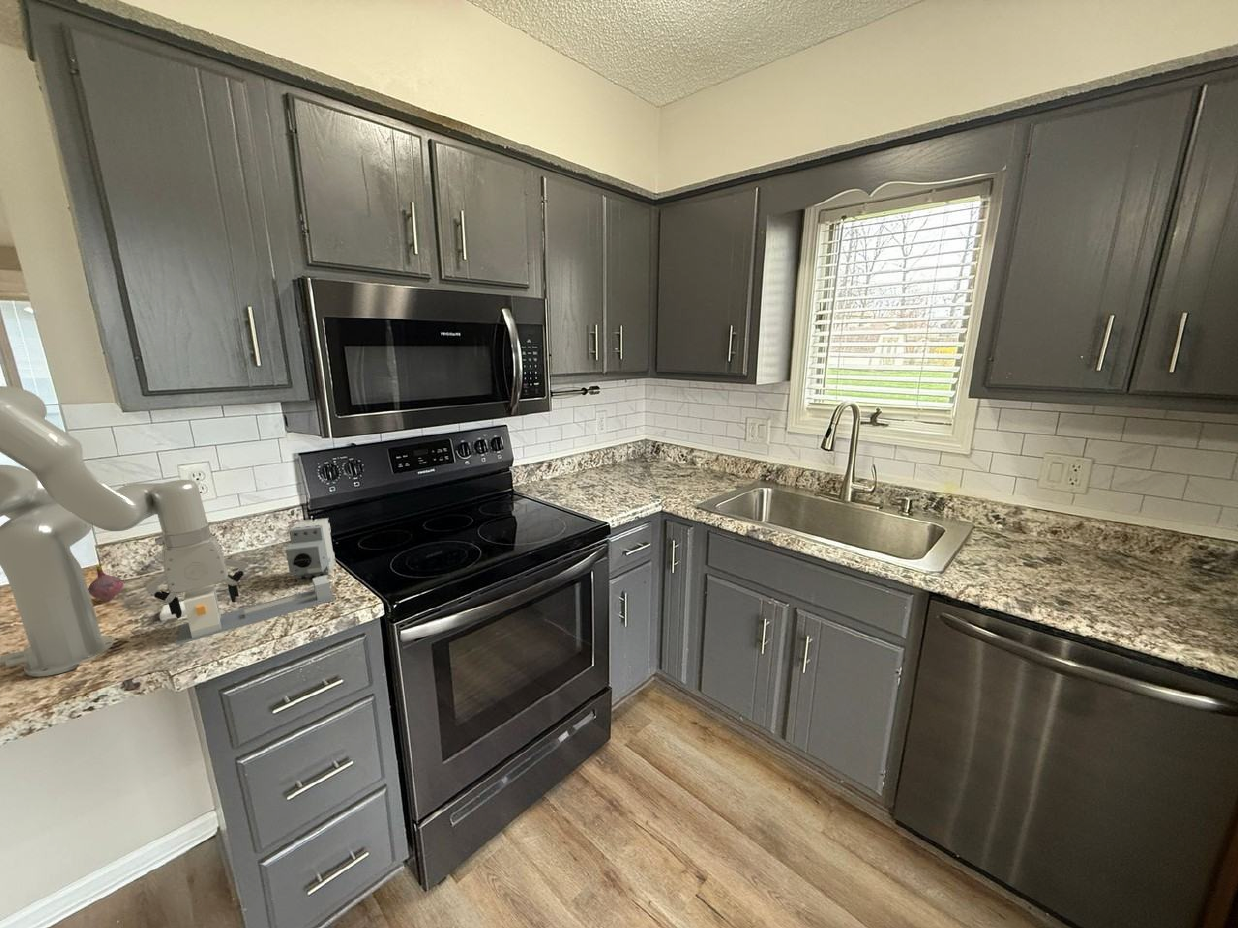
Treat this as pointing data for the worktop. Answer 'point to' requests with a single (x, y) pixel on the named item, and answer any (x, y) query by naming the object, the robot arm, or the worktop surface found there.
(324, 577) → the end stop
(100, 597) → the vegetable
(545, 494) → the worktop surface
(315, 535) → the circuit breaker
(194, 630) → the block
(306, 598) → the rail
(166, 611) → the soap
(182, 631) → the board
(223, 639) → the worktop surface
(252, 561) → the worktop surface
